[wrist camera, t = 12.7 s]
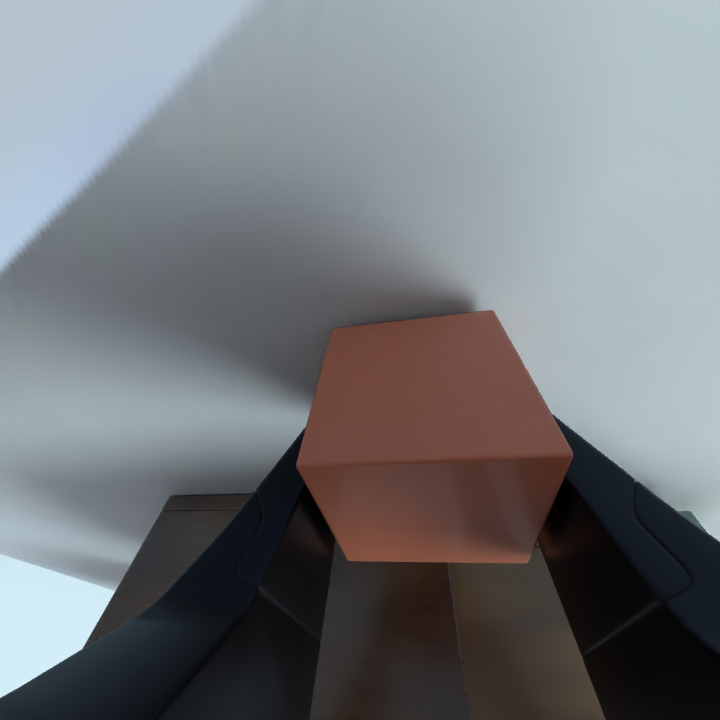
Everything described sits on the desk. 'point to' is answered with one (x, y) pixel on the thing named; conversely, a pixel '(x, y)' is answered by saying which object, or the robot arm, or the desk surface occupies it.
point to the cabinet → (330, 620)
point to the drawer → (520, 643)
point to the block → (431, 443)
